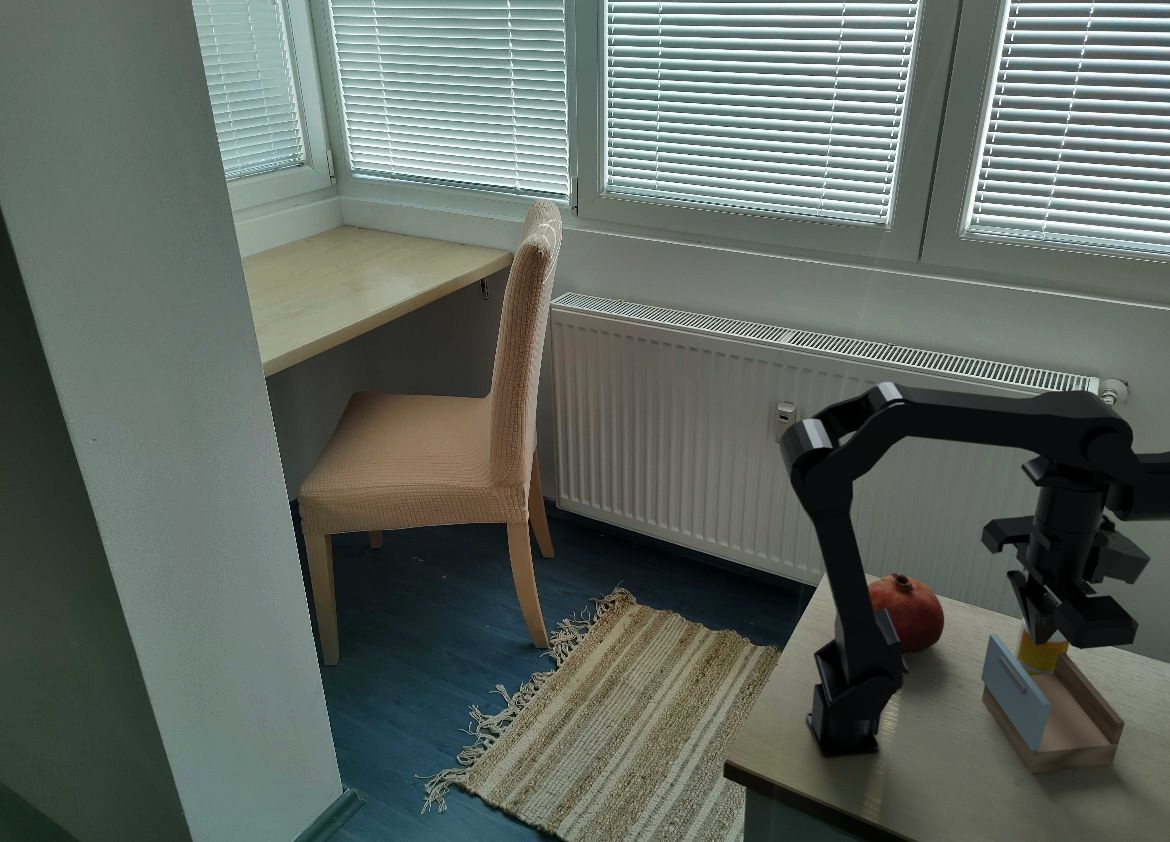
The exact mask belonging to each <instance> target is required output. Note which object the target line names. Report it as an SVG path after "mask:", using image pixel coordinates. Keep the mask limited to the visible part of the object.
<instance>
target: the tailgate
mask: <svg viewBox="0 0 1170 842" xmlns="http://www.w3.org/2000/svg"><path fill="white" fill-rule="evenodd" d="M1014 655H1015V654H1013V653H1012V651H1010V649H1009V648H1008V646H1007V644H1005V642H1004V641H1003V640H1002V638H1001V637H1000V636H999V634H998V633H992V634H989V637H988V642H987V648H986V652H985V658H984V663H983V668H982V673H981V678H980V679H981V681H982V682H983V683H984V686H985V685H986V686H987V688H988V689H989V690H990V692H991V693H992V695H993V696H994V698H995V699H996V700H997V702H998V703H999V705H1000V706H1001V708H1002V709H1003V710H1004V712H1005V713H1006V715H1007V716H1008V718H1009V719H1010V721H1011V722H1012V723H1013V725H1014V726H1015V728H1016V729H1017V731H1018V732H1019V733H1020V735H1021V736H1022V738H1023V739H1024V741H1025V742H1026V743H1027V745H1028V746H1029V748H1030V749H1031V751H1038V750H1039V749H1040V745H1041V741H1042V737H1043V733H1044V729H1045V725H1046V721H1047V717H1048V713H1049V709H1050V705H1051V703H1050V702H1049V701H1048V700H1047V698H1046V697H1045V696H1044V694H1043V693H1042V692H1041V690H1040V689H1039V688H1038V687H1037V685H1036V684H1035V683H1034V681H1033V680H1032V679H1031V677H1030V676H1029V675H1028V674H1027V672H1026V671H1025V670H1024V668H1023V667H1022V666H1021V664H1020V663H1019V662H1018V661H1017V659H1016V658H1015V657H1014Z"/></svg>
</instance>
